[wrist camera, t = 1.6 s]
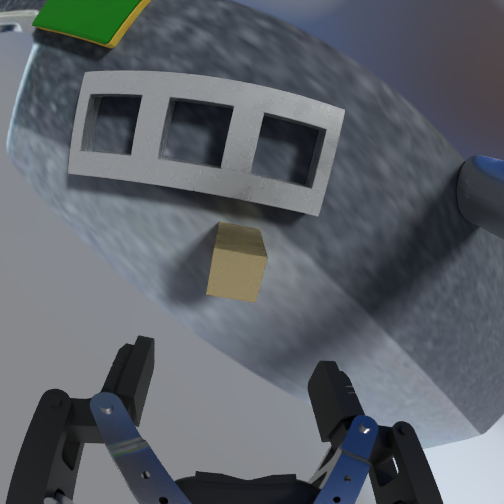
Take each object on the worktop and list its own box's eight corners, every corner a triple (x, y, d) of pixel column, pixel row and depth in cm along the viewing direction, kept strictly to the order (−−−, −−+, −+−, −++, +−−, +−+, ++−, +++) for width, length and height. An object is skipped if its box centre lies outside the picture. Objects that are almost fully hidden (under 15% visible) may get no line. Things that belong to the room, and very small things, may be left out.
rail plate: (335, 112, 23) (345, 110, 21) (311, 209, 26) (318, 216, 24) (96, 76, 20) (85, 72, 17) (80, 170, 23) (67, 173, 21)
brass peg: (259, 229, 27) (267, 257, 21) (251, 265, 28) (255, 302, 22) (219, 221, 26) (214, 247, 20) (212, 259, 28) (206, 294, 21)
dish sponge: (73, -16, 14) (65, -23, 12) (154, -1, 17) (148, -11, 15) (41, 29, 16) (30, 25, 14) (114, 50, 19) (105, 44, 17)
